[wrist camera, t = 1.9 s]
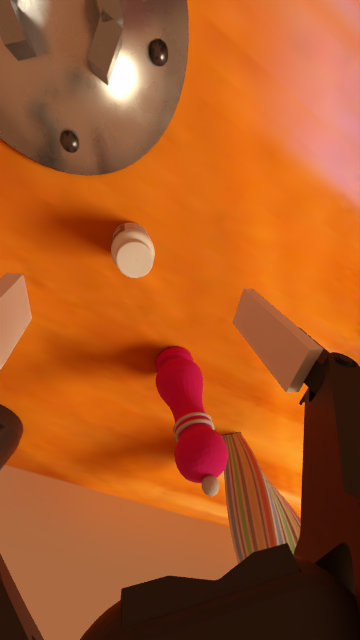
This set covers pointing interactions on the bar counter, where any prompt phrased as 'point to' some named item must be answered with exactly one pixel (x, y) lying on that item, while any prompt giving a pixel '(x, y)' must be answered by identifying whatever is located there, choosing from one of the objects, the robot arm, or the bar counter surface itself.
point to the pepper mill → (190, 419)
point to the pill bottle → (132, 250)
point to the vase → (255, 504)
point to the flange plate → (90, 79)
